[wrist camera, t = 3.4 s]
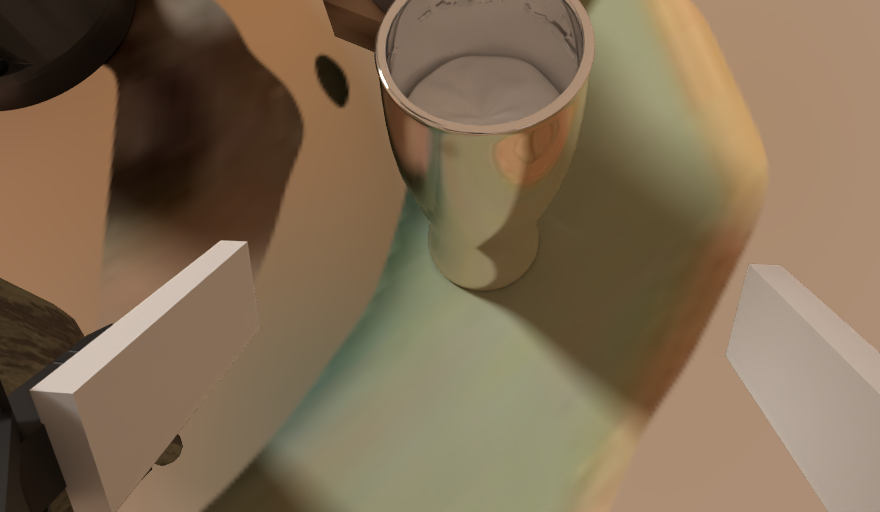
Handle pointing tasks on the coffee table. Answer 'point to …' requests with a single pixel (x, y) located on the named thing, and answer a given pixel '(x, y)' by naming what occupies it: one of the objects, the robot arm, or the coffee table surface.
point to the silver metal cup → (484, 122)
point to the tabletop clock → (42, 351)
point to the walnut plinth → (357, 19)
